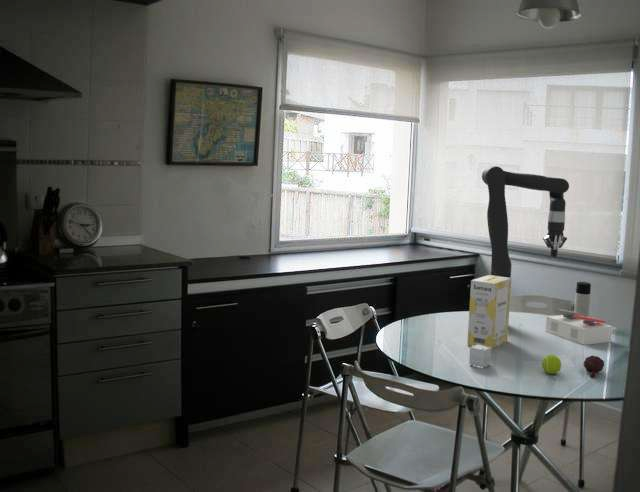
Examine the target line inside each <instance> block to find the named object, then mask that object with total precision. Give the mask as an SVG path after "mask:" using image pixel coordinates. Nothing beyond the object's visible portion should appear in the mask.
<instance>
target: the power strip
mask: <svg viewBox="0 0 640 492" xmlns="http://www.w3.org/2000/svg"><path fill="white" fill-rule="evenodd" d="M545 322H546V323H545V332H547V333H550V334H552V335H555V336H558V337H559V338H560V337H561V338H564V339H566V340H569V341H572V342H575V343H577V344H581V345H583V346H585V345H593V344H604V343H605V344H606V343H611V342H612V338H613V329H614V328H613V327H614V326H613V325H609V324H606V323H605V324H603V323H598V322H591V321H587V320H582V319H579V318H575V317H573V316H572V315H569V314H564V313H562V314H560V315H559V314H558V315H549V316H548V315H547V316H546V321H545Z"/></svg>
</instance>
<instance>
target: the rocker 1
mask: <svg viewBox="0 0 640 492" xmlns="http://www.w3.org/2000/svg"><path fill="white" fill-rule="evenodd" d="M553 311H554V312H557V313H560V314H568V315H572V316H574V314H576V315H581V316H585V315H584V314H581V313H578V312H574V311H573V310H572V311H571V310H566V309H561V308H556V307H554V308H553Z"/></svg>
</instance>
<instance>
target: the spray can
mask: <svg viewBox="0 0 640 492" xmlns="http://www.w3.org/2000/svg"><path fill="white" fill-rule="evenodd" d="M591 287H592V285H591V283H590V282H586V281H578V282H576V288H575V298H574V307H573V308H574V309H573V310H574V311H573V312H578V313H581V314H584V315H585V316H586V317H589V314H590V313H589V311H590V301H591Z"/></svg>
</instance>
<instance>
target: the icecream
mask: <svg viewBox="0 0 640 492" xmlns="http://www.w3.org/2000/svg"><path fill="white" fill-rule="evenodd" d="M583 367H584V368H585V371H586V372H587V373H589V374H590V375H591V378H594V379H595V378H596V377H597V374H599V373H600V372H602V371H603V370H604V367H605V361H604V360H603V359H602V358H600V356H598V355H590V356H588V357H586V358H585V359H584V361H583Z"/></svg>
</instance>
